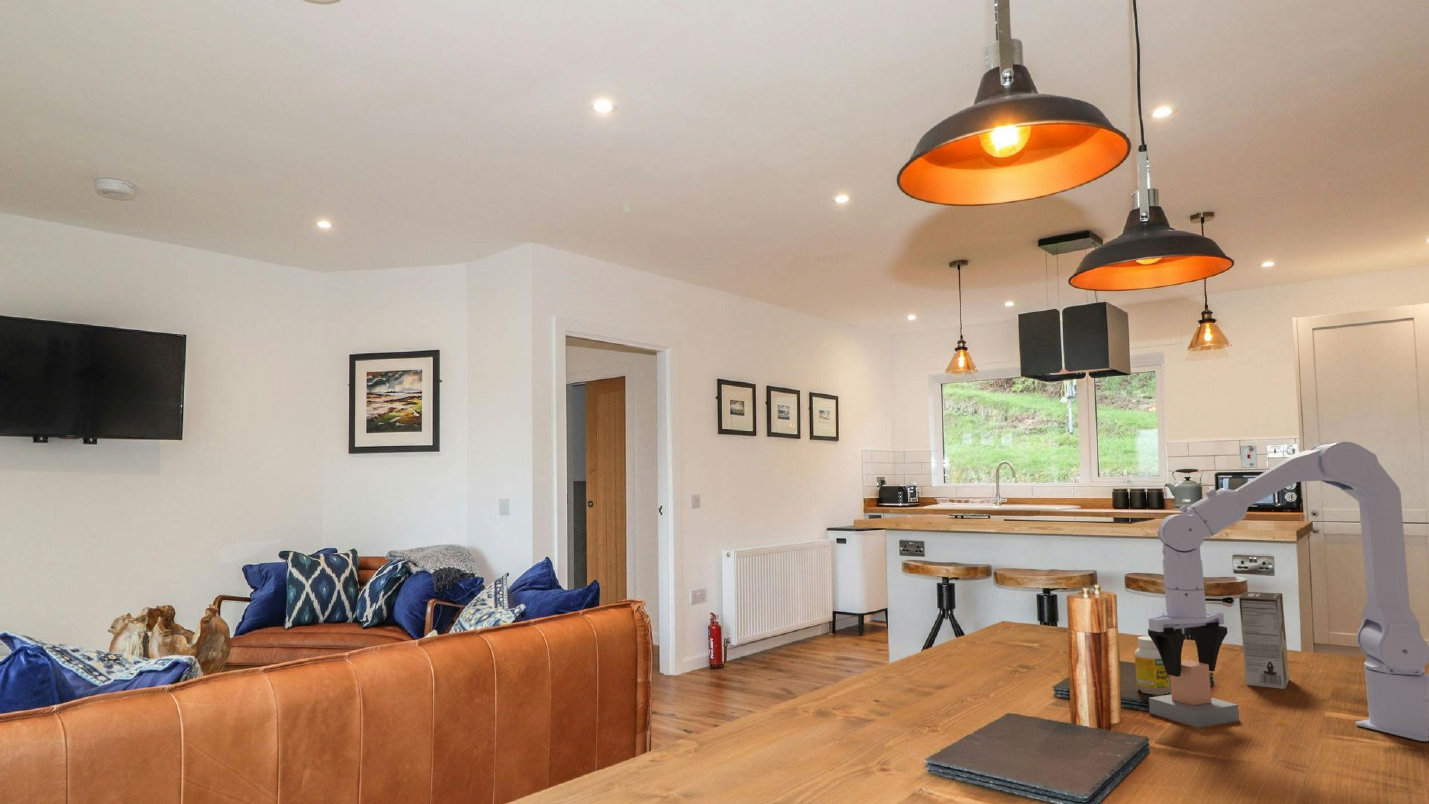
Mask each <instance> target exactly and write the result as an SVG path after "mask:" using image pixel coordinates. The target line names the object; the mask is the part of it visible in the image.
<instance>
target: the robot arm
mask: <svg viewBox="0 0 1429 804" xmlns="http://www.w3.org/2000/svg"><path fill="white" fill-rule="evenodd" d="M1318 481H1320V482H1322V483H1324V484H1329V485H1331V486H1334V487H1336V488H1338V489H1340V490H1341V491H1343V492H1344V493H1346V494H1347V495H1348V496H1350V497H1351V498H1353V499H1355V500H1356V501H1357V502H1358V503H1359V504H1358V506H1359V517H1360V529H1361V543H1362V557H1363V569H1364V580H1365V581H1364V582H1365V594H1366V595H1365V596H1366V604H1365V605H1364V608H1363V609H1362V612H1361V615H1362V616H1361V617H1362V621H1361V624H1360V627H1359V629H1358V630H1357V633H1356V642H1357V645H1358V647H1359V649H1360V651H1362V652H1363V654H1365V655H1366V659H1365V661H1364V662H1363V664H1364V675H1365V688H1366V697H1367V710H1368V718H1367V719H1363V720H1358V721H1355V725H1356V726H1359V727H1363V728H1366V729H1371V730H1374V731H1378V732H1382V733H1385V734H1387V733H1388V734H1390V735H1393V736H1399V737H1403V738H1407V739H1411V740H1416V741H1419V742H1423V741H1424V742H1425V741H1426V742H1429V674H1428V673H1426V672H1425V670H1426V669H1425V667H1426V665H1428V662H1429V645H1428V643H1427V641H1426V639H1424V637H1423V635H1422V631H1421V625H1420V624H1421V623H1420V622H1419V620H1418V618H1417V617H1416V615H1415V613H1414V612H1413V609H1412V607H1411V606H1410V605H1411V603H1410V593H1409V581H1408V570H1407V569H1408V568H1407V567H1408V566H1407V556H1406V545H1405V532H1404V531H1405V530H1404V521H1403V520H1404V519H1403V507H1402V506H1403V505H1402V495H1401V491H1400V488H1399V487H1400V486H1398V484H1397V483H1396V482H1395V480H1393V478H1392V477H1391V476H1390V475H1389V474H1388V472H1387V470H1385V468H1384V467H1383V466H1382V465H1381V463H1380V462H1379V459H1378V456H1377V454H1376V453H1374V452H1372V451H1371V450H1368V449H1367V448H1365V447H1364V446H1361V445H1360V444H1358V443H1356V442H1352V441H1340V442H1338V441H1337V442H1334V443H1330V442H1324V443H1318V444H1317V445H1314V446H1312V447H1310V448H1309V450H1308V449H1307V450H1302V451H1300V452H1297V453H1295V454H1294V455H1292V456H1289V457H1287V458H1285V459H1283V460H1282V461H1280V462H1279V463H1277V464H1275V465H1274V466H1272V467H1270V468H1269V469H1267V470H1266V471H1264V472H1262V473H1260V474H1259V475H1258V476H1255V477H1254V478H1252V479H1250V480H1249V481H1247V482H1246V483H1244V484H1242V485H1241V486H1239V487H1238V488H1236V489H1230V488H1229V489H1228V488H1223V487H1220V488H1219V489H1217V490H1216V489H1215V488H1211V489H1209V490H1207V491H1205V495H1206V496H1204V497H1203V498H1201V499H1200V500H1198V501H1196V502H1193V503H1191V504H1190V505H1189V506H1186V505H1183V506H1181V507H1179V511H1180V513H1181V514H1176V513H1175V514H1169V515H1168V516H1166V517H1164V518H1163V519H1162V520H1161V522H1160V524H1159V525H1158V530H1157V531H1156V533H1157V536H1158V540H1159V541H1161V543H1162V555H1163V559H1162V571H1163V581H1164V595H1165V607H1166V610H1165V612H1163V611H1162V614H1161V615H1158V616H1155V617H1149V618H1148V628H1147V634H1148V635H1147V636H1150V638H1151V639H1152V641H1153V642H1154V644H1155V646H1156V647H1157V649H1158V651H1159V654H1160V656H1161V658H1162V661H1163V664H1164V667H1165V670H1166V673H1167V674H1168V675H1169V676H1170V675H1172V676H1176V677H1179V676H1180V675H1181V661H1182V651H1183V645H1184V643H1185V639H1186V637H1187V636H1186V634H1183V633H1182V634H1181V633H1177V631H1175V630H1179V629H1187V628H1189V629H1190V632H1191V633H1192V636H1193V638H1194V642H1195V646H1196V652H1197V658H1198V659H1197V660H1198V662H1200V663H1204V664H1209V672H1211V673H1212V672H1215V670H1216V667H1217V662H1218V661H1217V660H1218V656H1219V652H1220V649H1221V646H1222V645H1223V641H1224V640H1225V638H1226V636H1227V634H1228V633H1229V632H1228V627H1226V626H1224V625H1225V618H1224V617H1225V615H1224V612H1222V611H1215V610H1209V611H1207V610H1206V609H1207V608H1206V607H1207V605H1206V595H1205V583H1204V572H1203V571H1204V570H1203V560H1202V558H1201V545H1202V544H1203V543H1204V540H1205V538H1211V537H1214V536H1215V535H1217V534H1219V533H1220V532H1222V531H1224V530H1226V529H1228V528H1229V527H1231V526H1234V525H1235V524H1237V523H1238V522H1241V521H1242V520H1245V519H1246V516H1247V513H1248V512H1247V511H1248V510H1249V509H1248V508H1249V507H1250V506H1252V505H1254V504H1256V503H1258V502H1260V501H1263V499H1266V498H1268V497H1270V496H1271V495H1274V494H1275V493H1278V492H1279V491H1281V490H1284V489H1285V488H1287V487H1289V486H1292V485H1294V484H1296V483H1299V482H1302V483H1303V482H1318ZM1221 625H1223V626H1221ZM1426 742H1425V743H1426Z"/></svg>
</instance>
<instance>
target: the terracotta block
mask: <svg viewBox="0 0 1429 804" xmlns="http://www.w3.org/2000/svg"><path fill="white" fill-rule="evenodd" d="M1210 679H1211V678H1210V671H1209V664H1204V663H1200V662H1199V661H1195V660H1189V659H1185V660H1183V659H1181V675H1180V676H1179V677H1176V676H1172V675H1169V681H1170V693H1171V694H1172V700H1175V701H1178V702H1182V703H1186V704H1190V705H1199V704H1205V703H1212V700H1211V698H1212V690H1211V680H1210Z"/></svg>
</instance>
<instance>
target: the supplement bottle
mask: <svg viewBox="0 0 1429 804" xmlns="http://www.w3.org/2000/svg"><path fill="white" fill-rule="evenodd" d="M1137 644H1138V646H1139V648H1138V647H1137V649H1135V651H1134V662H1135V674H1136V676H1135V678H1136V685H1137V684H1138V685H1140V686H1142V687H1149V688H1165V687H1170V688H1171V681H1170V675H1168V674H1167V673H1166V670H1165V667H1164V664H1163V661H1162V658H1161V656H1160V654H1159V651H1158V649H1157V647H1156V646H1155V644H1154V642H1153V641H1152V639H1151V638H1150V636H1149V635H1147V636H1146V635H1144V636H1143V635H1142V636H1138V637H1137Z"/></svg>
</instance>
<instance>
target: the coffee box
mask: <svg viewBox="0 0 1429 804" xmlns="http://www.w3.org/2000/svg"><path fill="white" fill-rule="evenodd" d="M1283 598H1284V597H1283V593H1282V592H1261V591H1259V592H1258V591H1244V592H1243V593H1242V594H1241V595H1240V596H1239V599H1238V600H1239V603H1238V604H1239V614H1240V615H1239V616H1240V625H1241V626H1240V627H1241V636H1242V637H1241V639H1242V649H1243V651H1242V653H1243V661H1244V662H1243V663H1244V665H1243V666H1244V673H1245V675H1244V677H1245V684H1246V686H1252V687H1253V686H1255V687H1262V688H1271V689H1279V690H1281V689H1282V690H1286V688H1287V686H1288V683H1289V680H1290V670H1289V669H1290V668H1289V658H1288V648H1287V634H1286V625H1285V614H1284V603H1283V602H1284V599H1283Z"/></svg>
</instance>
